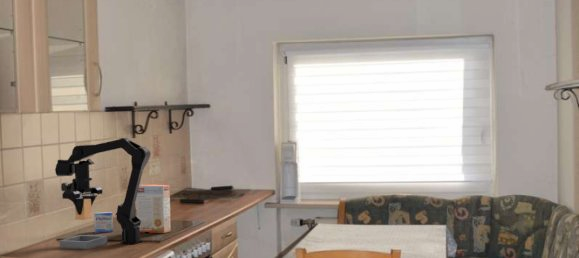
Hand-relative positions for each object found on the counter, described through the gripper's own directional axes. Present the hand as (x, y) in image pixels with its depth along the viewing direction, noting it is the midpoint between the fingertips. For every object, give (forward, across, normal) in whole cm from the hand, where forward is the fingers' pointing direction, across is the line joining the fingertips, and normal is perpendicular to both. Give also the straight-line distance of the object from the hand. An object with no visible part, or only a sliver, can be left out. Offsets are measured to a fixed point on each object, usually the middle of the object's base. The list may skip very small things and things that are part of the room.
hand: (83, 213), depth 291 cm
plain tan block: (+2, 0, 0) cm, 2 cm away
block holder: (+12, +6, +4) cm, 14 cm away
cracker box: (+12, -30, +14) cm, 35 cm away
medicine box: (+12, -25, -9) cm, 29 cm away
